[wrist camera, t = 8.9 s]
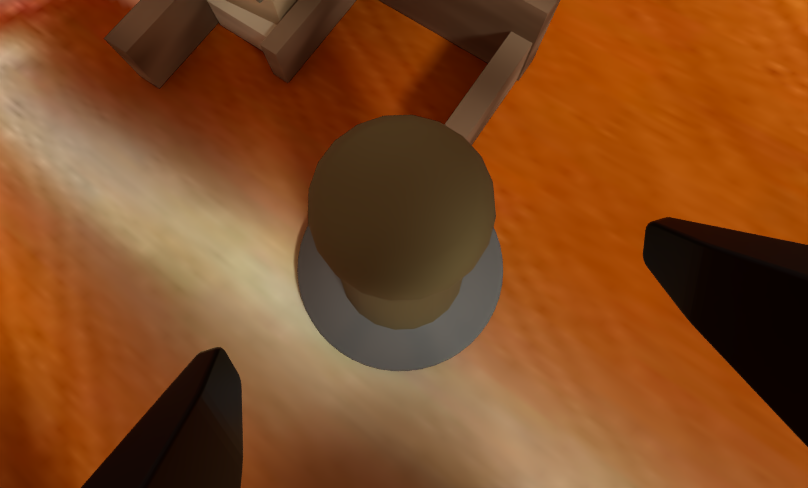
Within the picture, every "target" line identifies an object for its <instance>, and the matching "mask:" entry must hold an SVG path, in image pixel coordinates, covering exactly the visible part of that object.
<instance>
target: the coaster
mask: <svg viewBox="0 0 808 488" xmlns="http://www.w3.org/2000/svg"><path fill="white" fill-rule="evenodd" d="M502 278H503V261H502V254H501V248H500V244H499V241H498V238H497V234H496V232H495V230H494V228H493V230H492V234H491V238H490V243H489V245H488V247H487V248H486V250H485V251H484V253H483V254H482V256H481V258H480V259H479V261H478V262H477V264H476V265H475V267H474V269H473V270H472V271H471V272H469V273H468V274H467V275H466V276H464V277H463V279H462V283H461V287H460V291H459V294H458V295H457V297H456V298H455V300H454V302H453V303H452V305H451V306H450V308H449V309H448V310H447V311H446V312H445V313H443V314H442V315H441V316H440V317H438V318H437V319H436V320H435V321H434V322H431V323H429V324H426V325H423V326H421V327H418V328H415V329H400V330H394V329H390V328H387V327H383V326H380V325H376V324H374V323H373V322H371V321H370V320H368V319H367V318H365V317H364V316H362V315H361V314H359V313H358V311H357V310H356V309H355V308H354V306H353V305H352V304H351V302H350V301H349V300H348V298H347V297H346V294H345V291H344V288H343V285H342V282H341V279H340V278H339V277H338V276H336V275H335V273H334V272H333V271H332V269H331V268H330V267H329V266H328V264H327V263H326V262H325V260H324V259H323V258H322V256H321V255H320V254H319V252H318V251H317V249H316V246H315V243H314V240H313V237H312V234H311V231H310V228H309V225H308V227H307V229H306V231H305V234H304V237H303V240H302V243H301V246H300V251H299V257H298V283H299V289H300V293H301V298H302V300H303V303H304V306H305V309H306V311H307V313H308V315H309V317H310V319H311V321H312V322H313V324H314V325H315V327H316V328H317V330H318V331H319V332H320V334H321V335H322V336H323V337H324V338H325V339H326V340H327V341H328V342H329V343H330V344H331V345H332V346H333V347H335V348H336V349H337V350H338V351H340V352H341V353H343V354H344V355H346V356H347V357H349V358H351V359H352V360H355V361H357V362H359V363H362V364H364V365H367V366H370V367H374V368H377V369H383V370H390V371H410V370H417V369H423V368H427V367H430V366H434V365H436V364H439V363H441V362H443V361H446V360H448V359H450V358H451V357H453V356H455V355H456V354H458V353H460V352H461V351H462V350H463V349H465V348H466V347H467V346H468V345H470V344H471V343H472V342H473V341H474V339H475V338H476V337H477V336H478V335H479V334H480V333H481V332H482V330H483V329H484V327H485V326H486V325H487V323H488V322H489V320H490V318H491V316H492V314H493V312H494V310H495V307H496V305H497V302H498V299H499V296H500V291H501V287H502Z"/></svg>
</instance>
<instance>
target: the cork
mask: <svg viewBox="0 0 808 488" xmlns="http://www.w3.org/2000/svg"><path fill="white" fill-rule="evenodd" d="M495 218H496V212H495V201H494V190H493V182H492V179H491V177H490V175H489V173H488V170H487V168H486V166H485V164H484V161H483V159H482V157H481V156H480V154H479V153H478V152H477V151H476V150H475V149H474V148H473V147H472V146H471V144H470V143H469V142H468V141H467V140H466V139H465V138H464V137H463V136H462V135H460V134H459V133H457V132H455V131H454V130H452V129H450V128H449V127H447V126H446V125H444V124H442V123H441V122H438V121H434V120H431V119H427V118H423V117H419V116H415V115H391V116H382V117H379V118H376V119H373V120H370V121H367V122H364V123H361V124H358V125H356V126H355V127H354V128H352V129H351V130H349V131H348V132H346V133H345V134H344V135H342V136H341V137H339V138H338V139H336V140H335V141H334V143H333V144H332V145H331V146H330V148H329V149H328V150H327V152H326V153H325V154H324V156H323V157H322V158H321V159H320V161H319V162H318V164H317V167H316V170H315V173H314V176H313V179H312V182H311V184H310V187H309V194H308V225H309V228H310V231H311V234H312V237H313V240H314V243H315V246H316V249H317V251H318V252H319V254H320V255H321V256H322V258H323V259H324V260H325V262H326V263H327V264H328V266H329V267H330V268H331V269H332V271H333V272H334V273H335V275H336V276H338V277H339V278H340V279H341V282H342V285H343V288H344V291H345V294H346V297H347V298H348V300H349V301H350V302H351V304H352V305H353V306H354V308H355V309H356V310H357V311H358V313H359V314H361V315H362V316H364V317H365V318H367V319H368V320H370V321H371V322H373V323H374V324H376V325H380V326H383V327H387V328H390V329H394V330H400V329H415V328H418V327H421V326H423V325H426V324H429V323H431V322H434V321H435V320H436V319H437V318H438V317H440V316H441V315H442V314H443V313H445V312H446V311H447V310H448V309H449V308H450V306H451V305H452V303H453V302H454V300H455V298H456V297H457V295H458V294H459V291H460V287H461V283H462V279H463V277H464V276H466V275H467V274H468V273H469V272H471V271H472V270H473V269H474V267H475V265H476V264H477V262H478V261H479V259H480V258H481V256H482V254H483V253H484V251H485V250H486V248H487V247H488V245H489V243H490V238H491V234H492V230H493V226H494V222H495Z"/></svg>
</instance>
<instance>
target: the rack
mask: <svg viewBox="0 0 808 488" xmlns="http://www.w3.org/2000/svg"><path fill="white" fill-rule="evenodd" d="M355 1H356V0H140V1H139V2H138V3H137V4H136V5H135V6H134V7H133V8H132V10H131V11H130V12H129V13H128V14H127V15H126V16H125V17H124V18H123V19H122V20H121V21H120V22H119V23H118V24H117V25H116V26H115V27H114V28H113V29H112V30H111V31H110V32H109V34H108V35H107V36H106V37H105V38H104V39H105V40H106V41H107V42H108V43H109V44H110V45H111V46H112V47H113V48H114V49H115V51H116V52H117V53H118V54H119V55H120V56H121V57H122V58H123V59H124V60H125V61H126V62H127V63H128V64H129V65H130V66H131V67H132V68H133V69H134V70H135V71H136V72H137V73H138V74H139V75H140V76H141V77H143V78H144V79H146V80H147V81H149V82H150V83H152V84H153V85H155V86H156V87H158V88H160V87H161V86H162V85H163V84H164V83H165V82H166V80H167V79H168V78H169V77H170V76H171V75H172V74H173V73H174V72H175V70H176V69H177V68H178V67H179V66H180V65H181V64H182V63H183V62H184V60H185V59H186V58H187V57H188V56H189V55H190V54H191V53H192V51H193V50H194V49H195V48H196V47H197V46H198V45H199V44H200V43H201V41H202V40H203V39H204V38H205V37H206V36H207V35H208V34H209V33H210V31H211V30H212V29H213V28H214V27H215V26H216V25H217V24H218V23H220V25H222V26H223V27H225V28H226V29H228V30H230V31H231V32H233V33H234V34H236V35H238V36H239V37H241V38H242V39H244V40H246V41H247V42H249V43H251V44H252V45H254V46H255V47H257V48H259V49H260V50H262V51H263V52H264V55H265V57H266V59H267V61H268V63H269V65H270V67H271V69H272V72H273V74H275V75H276V76H278V77H279V78H281V79H283V80H284V81H286V82H287V83H288V82H289V81H290V80H291V79H292V78H293V76H294V75H295V74H296V73H297V71H298V70H299V69H300V68H301V67H302V65H303V64H304V63H305V62H306V61H307V59H308V58H309V57H310V56H311V55H312V53H313V52H314V51H315V50H316V48H317V47H318V46H319V45H320V44H321V42H322V41H323V40H324V39H325V38H326V36H327V35H328V34H329V33H330V31H331V30H332V29H333V28H334V27H335V25H336V24H337V23H338V22H339V21H340V19H341V18H342V17H343V16H344V14H345V13H346V12H347V11H348V10H349V8H350V7H351V6H352V5H353V4H354V2H355ZM380 1H381V2H383V3H385V4H387V5H388V6H390V7H392V8H393V9H395V10H397V11H399V12H400V13H402V14H404V15H406V16H407V17H409V18H411V19H412V20H414V21H416V22H418V23H419V24H421V25H423V26H425V27H426V28H428V29H430V30H431V31H433V32H435V33H437V34H438V35H440V36H442V37H444V38H445V39H447V40H449V41H450V42H452V43H454V44H456V45H457V46H459V47H461V48H463V49H464V50H466V51H468V52H469V53H471V54H473V55H475V56H476V57H478V58H480V59H482V60H483V61H485V62H487V63H488V65H487V66H486V67H485V69H484V70H483V72H482V73H481V74H480V76H479V77H478V79H477V80H476V81H475V83H474V84H473V86H472V87H471V88H470V90H469V91H468V93H467V94H466V95H465V97H464V98H463V100H462V101H461V102H460V104H459V105H458V107H457V108H456V109H455V111H454V112H453V114H452V115H451V116H450V118H449V119H448V121H447V122H446V123H445V125H446V126H447V127H449V128H450V129H452V130H454V131H455V132H457V133H459V134H460V135H462V136H463V137H464V138H465V139H466V140H467V141H468V142H469V143H470V144H471V145H472V144H473V143H474V141H475V140H476V138H477V137H478V135H479V134H480V132H481V131H482V130H483V128H484V127H485V125H486V124H487V122H488V121H489V119H490V118H491V116H492V115H493V114H494V112H495V111H496V109H497V108H498V106H499V105H500V103H501V102H502V101H503V99H504V98H505V96H506V95H507V93H508V92H509V90H510V89H511V88H512V86H513V85H514V83H515V82H516V80H518V81H519V79H520V78H521V76H522V75H523V73H524V72H525V70H526V69H527V67H528V66H529V65H530V63H531V62H532V60H533V58H534V56H535V54H536V52H537V50H538V47H539V45H540V43H541V41H542V39H543V37H544V34H545V32H546V30H547V28H548V26H549V23H550V21H551V19H552V17H553V15H554V13H555V10H556V8H557V6H558V4H559V2H560V0H380Z"/></svg>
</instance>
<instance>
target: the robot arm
mask: <svg viewBox="0 0 808 488" xmlns="http://www.w3.org/2000/svg"><path fill="white" fill-rule="evenodd" d="M643 259H644V262H645V264H646V266H647V267H648V269H649V270H650V271H651V273H652V274H653V275H654V276H655V278H656V279H657V280H658V282H659V283H660V284H661V286H662V287H663V288H664V289H665V291H666V292H667V293H668V295H669V296H670V297H671V299H672V300H673V301H674V303H675V304H676V305H677V306H678V308H679V309H680V310H681V312H682V313H683V314H684V315H685V317H686V318H687V319H688V320H689V321H690V323H691V324H692V325H693V326H694V327H695V328H696V329H697V330H698V331H699V332H700V334H701V335H702V336H703V337H704V338H705V339H706V340H707V341H708V342H709V343H710V344H711V345H712V346H713V347H714V348H715V349H716V350H717V352H718V353H719V354H720V355H721V356H722V357H723V358H724V359H725V360H726V361H727V362H728V363H729V364H730V365H731V366H732V367H733V368H734V370H735V371H736V372H737V373H738V374H739V375H740V376H741V377H742V378H743V379H744V380H745V381H746V382H747V383H748V384H749V385H750V386H751V388H752V389H753V390H754V391H755V392H756V393H757V394H758V395H759V396H760V397H761V398H762V399H763V400H764V401H765V402H766V403H767V404H768V406H769V407H770V408H771V409H772V410H773V411H774V412H775V413H776V414H777V415H778V416H779V417H780V418H781V419H782V420H783V421H784V423H785V424H786V425H787V426H788V427H789V428H790V429H791V430H792V431H793V432H794V433H795V434H796V435H797V436H798V437H799V438H800V439H801V441H802V442H803V443H804V444H805V445H806V446H807V447H808V245H805V244H800V243H795V242H790V241H785V240H781V239H776V238H771V237H766V236H761V235H756V234H751V233H746V232H741V231H736V230H731V229H726V228H721V227H716V226H711V225H706V224H701V223H696V222H691V221H686V220H681V219H676V218H671V217H666V218H662V219H659V220H655V221H652V222H650V223H649V224H648V225H647V227H646V230H645V239H644V248H643ZM242 464H243V429H242V389H241V380H240V377H239V374H238V372H237V371H236V369H235V367H234V365H233V364H232V362H231V360H230V359H229V357H228V355H227V354H226V352H225V351H224V349H222V348H221V347H216V348H212V349H209V350H205V351H202V352H200V353H198V354H197V355H196V356H195V358H194V359H193V360H192V361H191V362H190V363H189V364H188V366H187V367H186V368H185V369H184V370H183V371H182V372H181V374H180V375H179V376H178V377H177V378H176V379H175V380H174V382H173V383H172V384H171V385H170V386H169V387H168V388H167V390H166V391H165V392H164V393H163V394H162V395H161V397H160V398H159V399H158V400H157V401H156V402H155V403H154V405H153V406H152V407H151V408H150V409H149V410H148V411H147V413H146V414H145V415H144V416H143V417H142V418H141V419H140V421H139V422H138V423H137V424H136V425H135V426H134V427H133V429H132V430H131V431H130V432H129V433H128V434H127V435H126V437H125V438H124V439H123V440H122V441H121V442H120V443H119V445H118V446H117V447H116V448H115V449H114V450H113V452H112V453H111V454H110V455H109V456H108V457H107V458H106V460H105V461H104V462H103V463H102V464H101V465H100V466H99V468H98V469H97V470H96V471H95V472H94V473H93V474H92V476H91V477H90V478H89V479H88V480H87V481H86V482H85V484H84V485H83V486H82V487H81V488H241V477H242Z"/></svg>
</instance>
